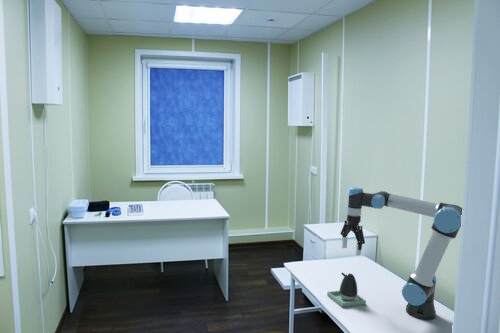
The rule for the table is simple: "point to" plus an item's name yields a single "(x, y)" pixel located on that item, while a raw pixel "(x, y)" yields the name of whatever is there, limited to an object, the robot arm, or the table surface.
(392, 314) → the table surface
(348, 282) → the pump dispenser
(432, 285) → the robot arm
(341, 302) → the tray
